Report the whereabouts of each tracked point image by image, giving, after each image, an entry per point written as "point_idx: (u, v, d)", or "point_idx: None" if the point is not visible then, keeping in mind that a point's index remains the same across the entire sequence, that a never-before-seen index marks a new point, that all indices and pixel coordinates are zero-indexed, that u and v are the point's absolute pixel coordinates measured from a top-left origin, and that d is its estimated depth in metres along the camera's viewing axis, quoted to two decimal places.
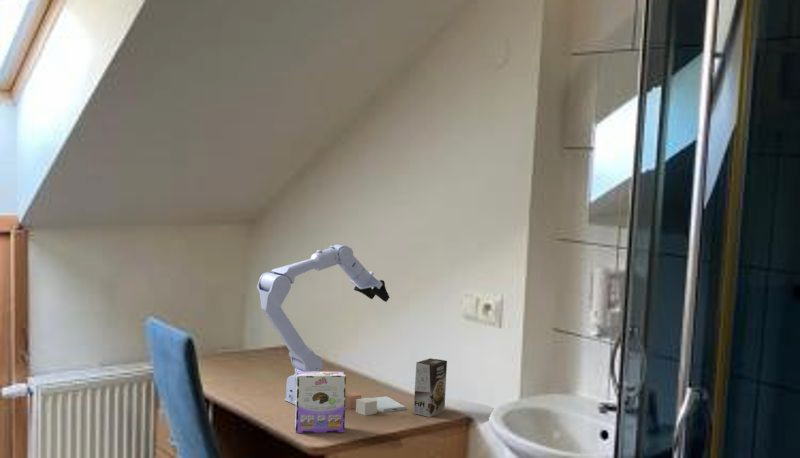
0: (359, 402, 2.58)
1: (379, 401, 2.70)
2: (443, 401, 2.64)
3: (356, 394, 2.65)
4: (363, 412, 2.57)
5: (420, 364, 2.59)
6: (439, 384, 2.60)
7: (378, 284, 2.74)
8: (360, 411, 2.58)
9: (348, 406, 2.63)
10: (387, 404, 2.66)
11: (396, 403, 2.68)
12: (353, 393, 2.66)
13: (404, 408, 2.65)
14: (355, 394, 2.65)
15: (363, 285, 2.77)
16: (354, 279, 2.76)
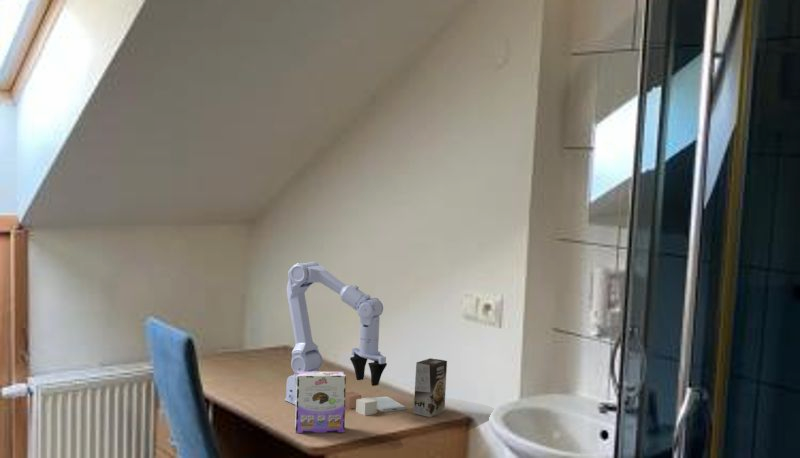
0: (359, 402, 2.58)
1: (379, 400, 2.70)
2: (443, 401, 2.64)
3: (356, 394, 2.65)
4: (363, 412, 2.57)
5: (420, 364, 2.59)
6: (439, 384, 2.60)
7: (382, 359, 2.53)
8: (360, 411, 2.58)
9: (348, 406, 2.63)
10: (386, 404, 2.66)
11: (396, 403, 2.68)
12: (353, 393, 2.66)
13: (404, 408, 2.65)
14: (355, 394, 2.65)
15: (366, 353, 2.56)
16: (363, 341, 2.56)
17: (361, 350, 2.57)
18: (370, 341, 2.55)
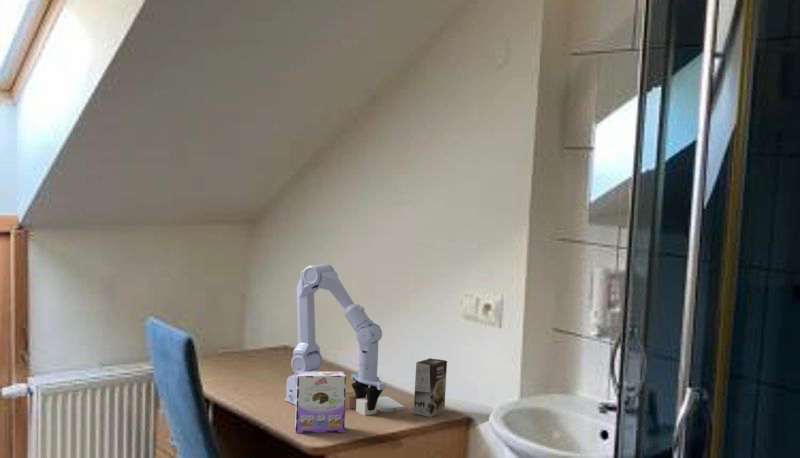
0: (359, 402, 2.58)
1: (379, 400, 2.70)
2: (443, 401, 2.64)
3: None
4: (363, 412, 2.57)
5: (420, 364, 2.59)
6: (439, 384, 2.60)
7: (381, 385, 2.53)
8: (360, 411, 2.58)
9: (348, 406, 2.63)
10: (386, 404, 2.66)
11: (396, 403, 2.68)
12: (353, 393, 2.66)
13: (404, 408, 2.65)
14: (355, 394, 2.65)
15: (365, 379, 2.56)
16: (362, 367, 2.56)
17: (360, 376, 2.57)
18: (369, 367, 2.56)
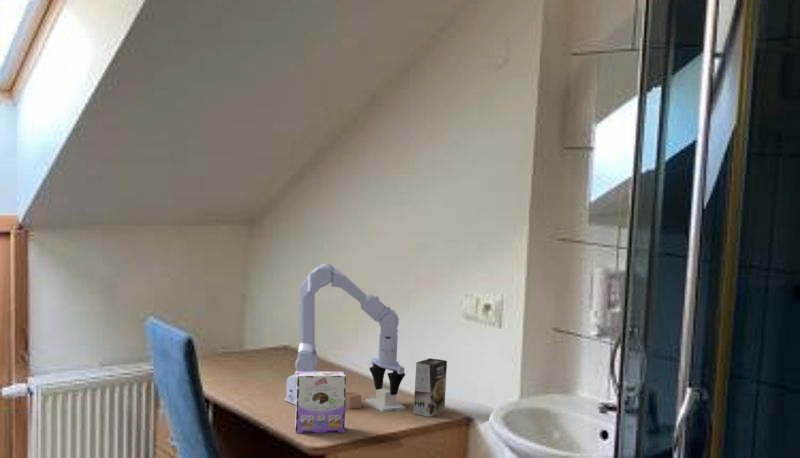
0: (379, 392, 2.67)
1: None
2: (443, 401, 2.64)
3: (356, 394, 2.65)
4: (383, 402, 2.66)
5: (420, 364, 2.59)
6: (439, 384, 2.60)
7: (401, 369, 2.62)
8: (380, 401, 2.67)
9: (348, 406, 2.63)
10: None
11: (396, 403, 2.68)
12: (353, 393, 2.66)
13: (403, 408, 2.65)
14: (355, 394, 2.65)
15: (385, 363, 2.65)
16: (382, 352, 2.65)
17: (380, 360, 2.66)
18: (389, 352, 2.64)
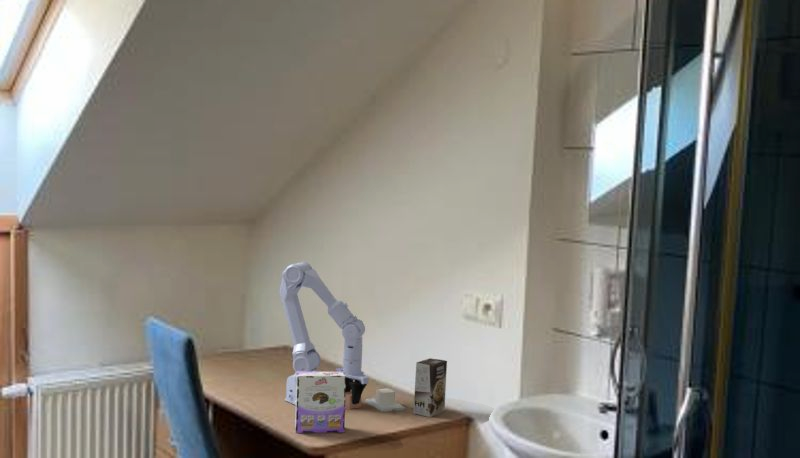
0: (378, 392, 2.67)
1: None
2: (443, 401, 2.64)
3: None
4: (381, 402, 2.66)
5: (420, 364, 2.59)
6: (439, 384, 2.60)
7: (365, 379, 2.59)
8: (379, 401, 2.67)
9: (348, 406, 2.63)
10: None
11: (395, 403, 2.68)
12: None
13: (403, 408, 2.65)
14: None
15: (350, 373, 2.62)
16: (347, 361, 2.63)
17: (344, 370, 2.63)
18: (353, 362, 2.62)
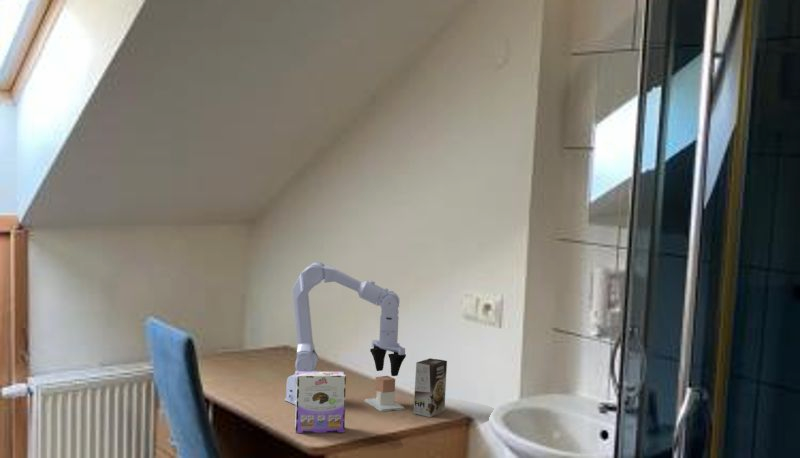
0: (378, 392, 2.68)
1: None
2: (443, 401, 2.64)
3: (390, 378, 2.68)
4: (379, 401, 2.66)
5: (420, 364, 2.59)
6: (439, 384, 2.60)
7: (402, 350, 2.61)
8: (378, 400, 2.68)
9: (382, 389, 2.66)
10: (385, 405, 2.67)
11: (395, 404, 2.68)
12: (387, 377, 2.69)
13: (402, 409, 2.65)
14: (389, 378, 2.68)
15: (386, 344, 2.64)
16: (383, 333, 2.64)
17: (381, 342, 2.65)
18: (390, 333, 2.64)
